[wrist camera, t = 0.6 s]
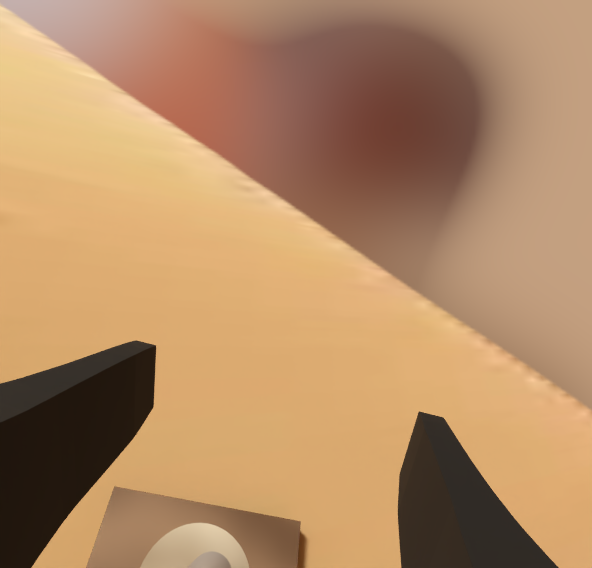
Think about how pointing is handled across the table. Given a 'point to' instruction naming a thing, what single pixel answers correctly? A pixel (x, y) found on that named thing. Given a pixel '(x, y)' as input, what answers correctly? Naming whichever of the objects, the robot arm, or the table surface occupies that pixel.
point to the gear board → (190, 535)
